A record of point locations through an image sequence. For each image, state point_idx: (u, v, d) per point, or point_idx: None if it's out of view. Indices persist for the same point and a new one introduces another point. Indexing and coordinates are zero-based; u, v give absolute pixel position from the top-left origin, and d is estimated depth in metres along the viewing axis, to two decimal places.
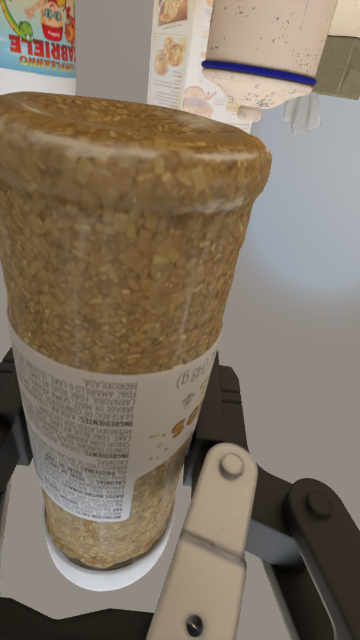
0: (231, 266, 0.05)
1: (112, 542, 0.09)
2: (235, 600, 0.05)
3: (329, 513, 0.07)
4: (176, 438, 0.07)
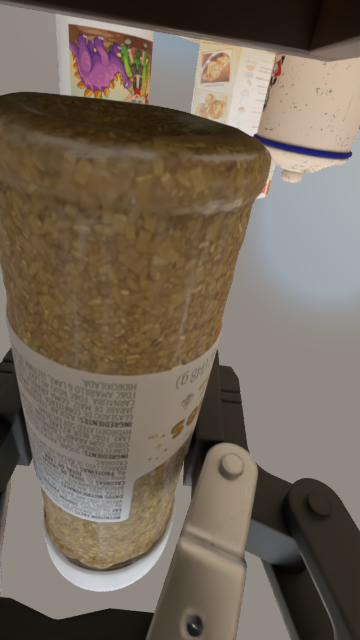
0: (230, 267, 0.05)
1: (111, 542, 0.09)
2: (235, 600, 0.05)
3: (329, 513, 0.07)
4: (176, 438, 0.07)
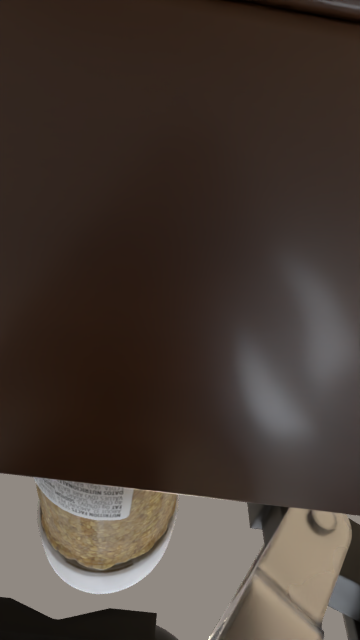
0: None
1: (111, 542, 0.09)
2: None
3: None
4: None
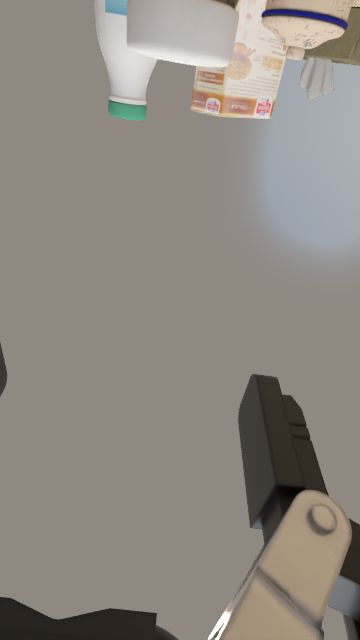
0: None
1: None
2: None
3: None
4: None
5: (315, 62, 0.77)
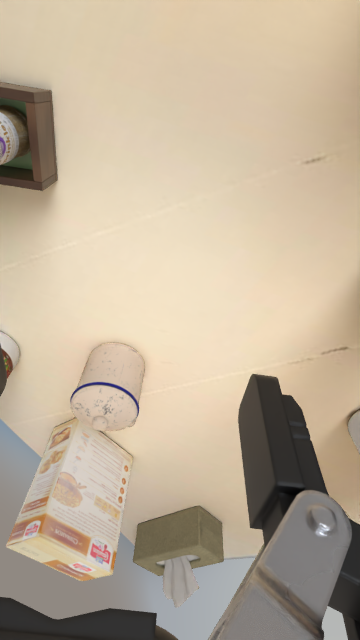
0: (22, 125, 0.31)
1: None
2: None
3: None
4: None
5: (173, 563, 0.74)
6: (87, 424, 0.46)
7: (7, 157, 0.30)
